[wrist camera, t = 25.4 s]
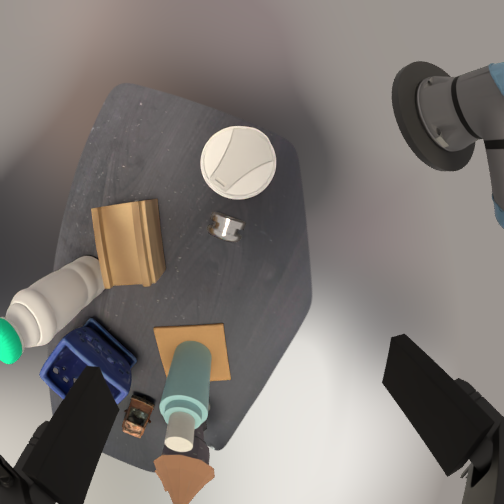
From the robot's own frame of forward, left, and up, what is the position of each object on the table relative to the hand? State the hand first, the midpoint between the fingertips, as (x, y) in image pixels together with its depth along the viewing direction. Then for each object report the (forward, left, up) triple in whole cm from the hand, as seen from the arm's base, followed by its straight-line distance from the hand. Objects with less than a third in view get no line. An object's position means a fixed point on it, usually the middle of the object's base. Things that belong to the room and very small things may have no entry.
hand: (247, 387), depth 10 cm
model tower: (+12, +32, -32) cm, 47 cm away
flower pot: (+27, +18, -32) cm, 45 cm away
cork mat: (+9, +19, -32) cm, 38 cm away
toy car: (+24, +34, -32) cm, 52 cm away
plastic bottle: (+9, +22, -21) cm, 32 cm away
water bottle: (+25, +3, -32) cm, 41 cm away
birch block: (+15, -2, -32) cm, 35 cm away
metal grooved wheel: (+1, -3, -32) cm, 32 cm away
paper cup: (-1, -11, -32) cm, 34 cm away
